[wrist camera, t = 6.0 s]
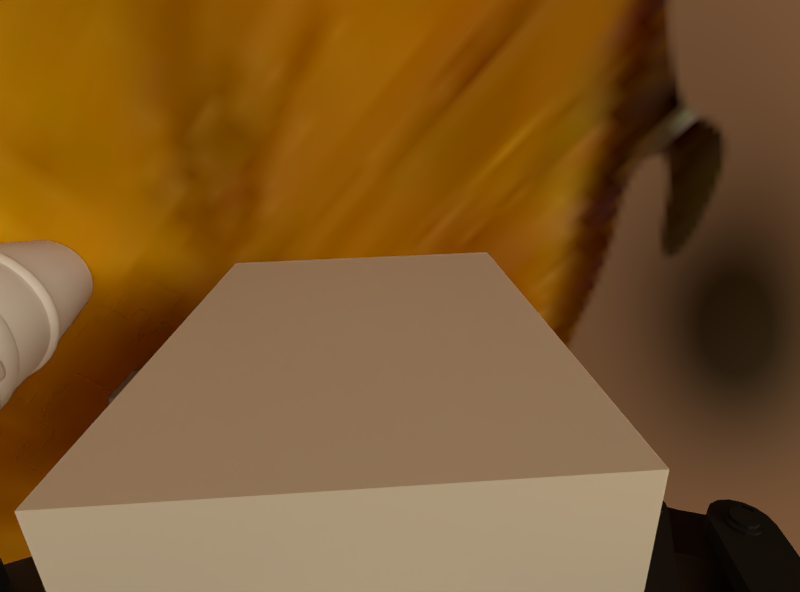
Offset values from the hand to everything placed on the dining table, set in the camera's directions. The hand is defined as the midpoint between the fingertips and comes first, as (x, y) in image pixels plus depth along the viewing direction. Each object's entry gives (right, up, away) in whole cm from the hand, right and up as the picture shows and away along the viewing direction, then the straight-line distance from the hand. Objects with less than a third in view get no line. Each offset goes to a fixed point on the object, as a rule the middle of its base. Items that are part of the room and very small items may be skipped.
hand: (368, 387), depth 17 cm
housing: (0, 0, +1) cm, 1 cm away
